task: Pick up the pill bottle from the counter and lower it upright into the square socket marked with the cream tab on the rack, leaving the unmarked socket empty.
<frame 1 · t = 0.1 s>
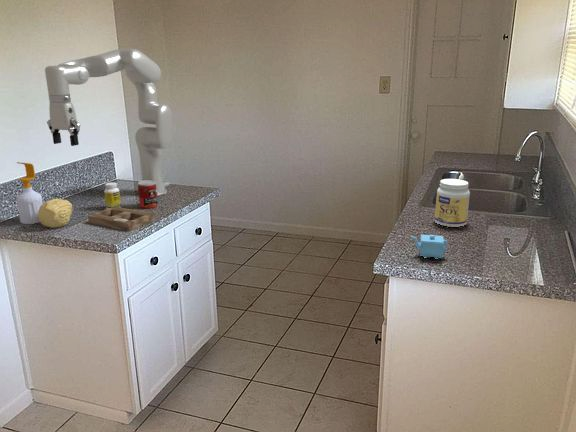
hand: (66, 144, 206), 31 cm above the worktop, tool pointing down, fingers open, 9 cm apart
sculpture: (56, 225, 210), on the worktop
supplement tub: (450, 224, 207), on the worktop
canned food: (149, 206, 233), on the worktop
socket rack: (121, 221, 213), on the worktop
pill bottle: (113, 208, 231), on the worktop
teapot: (427, 257, 176), on the worktop
soap bottle: (33, 221, 215), on the worktop
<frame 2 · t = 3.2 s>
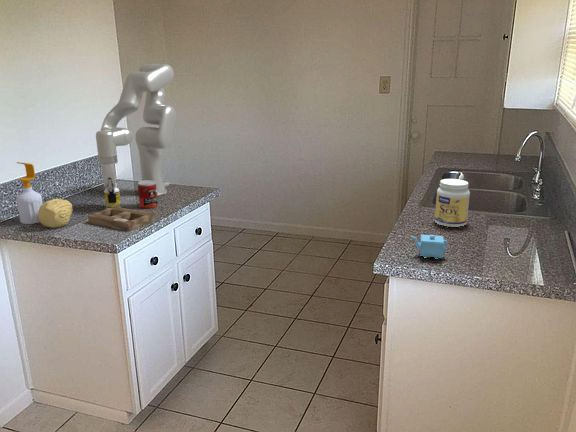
hand: (112, 200, 230), 4 cm above the worktop, tool pointing down, fingers closed on pill bottle, 6 cm apart
pill bottle: (113, 208, 231), on the worktop, touching gripper
everything else where it was.
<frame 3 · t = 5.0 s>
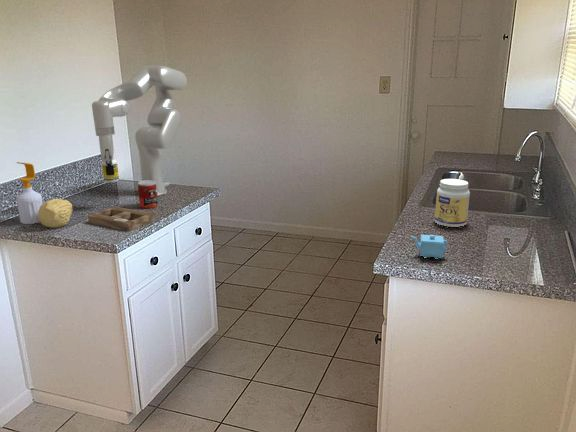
hand: (110, 172, 226), 16 cm above the worktop, tool pointing down, fingers closed on pill bottle, 6 cm apart
pill bottle: (111, 181, 228), point 12 cm above the worktop, touching gripper
everything else where it was.
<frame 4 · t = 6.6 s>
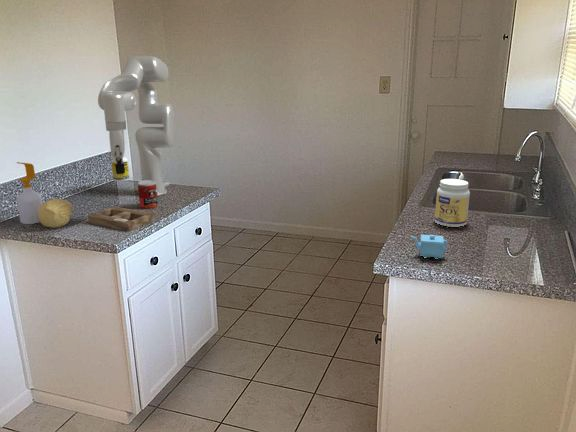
hand: (120, 171, 209), 20 cm above the worktop, tool pointing down, fingers closed on pill bottle, 6 cm apart
pill bottle: (121, 180, 211), point 16 cm above the worktop, touching gripper
everything else where it was.
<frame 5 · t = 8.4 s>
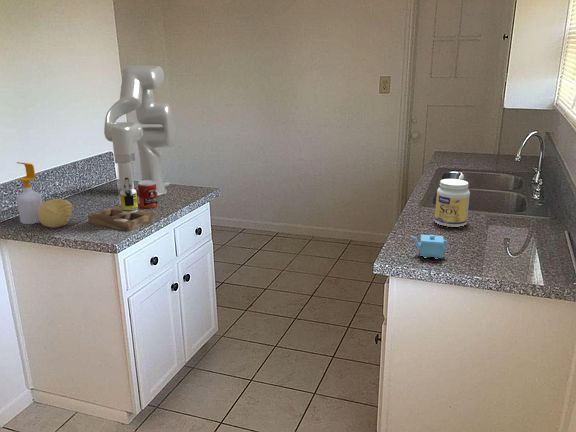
hand: (129, 202, 208), 9 cm above the worktop, tool pointing down, fingers closed on pill bottle, 6 cm apart
pill bottle: (130, 212, 209), point 5 cm above the worktop, touching gripper
everything else where it was.
when the fingers open (4 cm above the worktop, at t = 9.8 s): pill bottle stays where it is, resting in socket rack.
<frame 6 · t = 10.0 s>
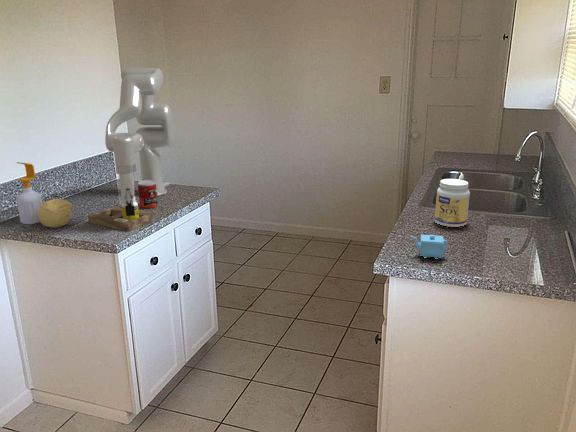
hand: (130, 211, 209), 5 cm above the worktop, tool pointing down, fingers open, 8 cm apart
pill bottle: (131, 224, 211), resting in socket rack
everything else where it was.
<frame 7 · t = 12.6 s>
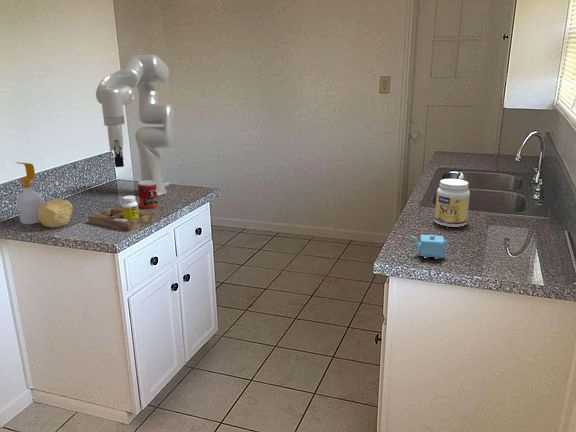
hand: (119, 163, 210), 23 cm above the worktop, tool pointing down, fingers open, 9 cm apart
nothing on the worktop moved.
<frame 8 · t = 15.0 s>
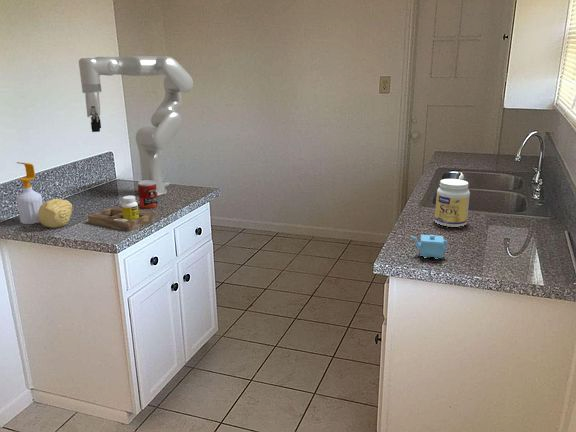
hand: (96, 130, 225), 33 cm above the worktop, tool pointing down, fingers open, 9 cm apart
nothing on the worktop moved.
at the end: pill bottle 0.1 cm from the target spot on the socket rack, point 0.0 cm above the socket rack's base; pill bottle tilted 0°; the gripper is holding nothing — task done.
